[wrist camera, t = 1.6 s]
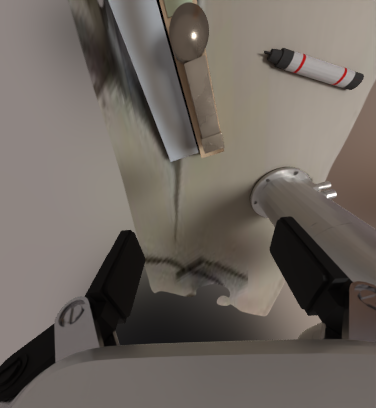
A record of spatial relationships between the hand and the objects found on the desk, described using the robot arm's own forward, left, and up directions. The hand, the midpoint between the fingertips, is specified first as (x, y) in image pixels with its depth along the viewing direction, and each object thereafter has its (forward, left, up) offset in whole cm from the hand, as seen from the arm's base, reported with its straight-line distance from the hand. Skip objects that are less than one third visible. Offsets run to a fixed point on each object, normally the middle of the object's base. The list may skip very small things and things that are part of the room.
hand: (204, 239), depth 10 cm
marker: (-20, -6, -23) cm, 31 cm away
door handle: (-3, -8, -18) cm, 20 cm away
